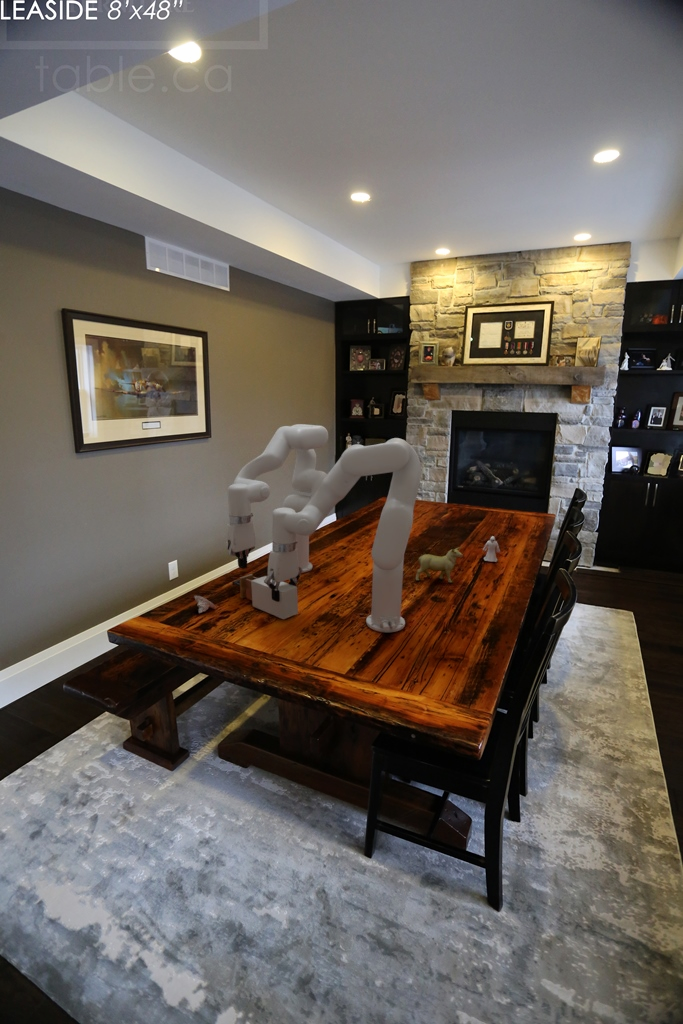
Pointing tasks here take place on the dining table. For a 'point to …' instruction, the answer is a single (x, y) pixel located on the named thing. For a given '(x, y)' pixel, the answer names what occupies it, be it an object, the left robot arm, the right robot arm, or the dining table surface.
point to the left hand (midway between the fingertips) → (242, 567)
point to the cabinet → (264, 600)
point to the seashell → (203, 604)
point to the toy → (439, 563)
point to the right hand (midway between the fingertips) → (283, 597)
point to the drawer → (245, 586)
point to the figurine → (491, 550)
